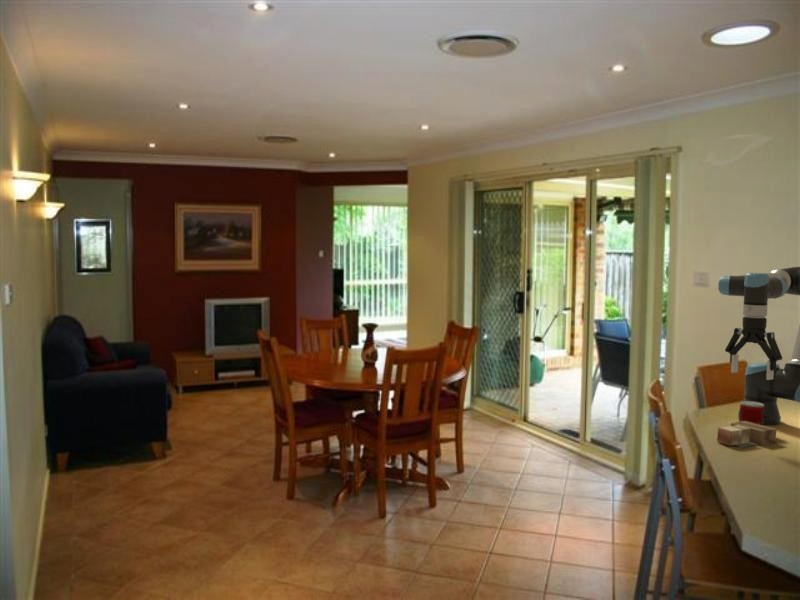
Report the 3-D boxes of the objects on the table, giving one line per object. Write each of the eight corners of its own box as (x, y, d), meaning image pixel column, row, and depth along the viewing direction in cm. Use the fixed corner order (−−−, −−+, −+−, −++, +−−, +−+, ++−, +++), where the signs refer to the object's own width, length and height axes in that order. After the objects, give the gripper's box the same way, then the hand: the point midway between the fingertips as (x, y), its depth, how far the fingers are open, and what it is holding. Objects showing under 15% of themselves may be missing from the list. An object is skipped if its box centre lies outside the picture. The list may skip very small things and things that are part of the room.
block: (737, 425, 242) (718, 427, 238) (750, 428, 238) (730, 431, 233) (736, 438, 243) (717, 441, 238) (749, 442, 238) (729, 445, 234)
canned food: (765, 435, 249) (767, 406, 248) (741, 433, 251) (743, 404, 250) (758, 430, 257) (760, 401, 256) (736, 428, 258) (737, 400, 257)
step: (744, 434, 251) (745, 420, 250) (775, 442, 240) (776, 428, 240) (730, 436, 247) (731, 423, 246) (761, 445, 236) (762, 431, 236)
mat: (731, 437, 245) (731, 436, 245) (756, 444, 237) (756, 443, 237) (716, 440, 242) (716, 439, 242) (742, 447, 233) (742, 446, 233)
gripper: (716, 313, 247) (713, 370, 249) (782, 321, 225) (778, 383, 227) (730, 312, 251) (727, 368, 253) (795, 319, 229) (792, 381, 231)
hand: (751, 375), depth 240 cm, fingers open, 13 cm apart
